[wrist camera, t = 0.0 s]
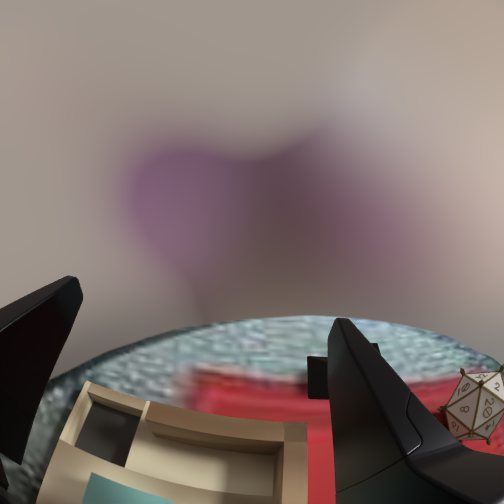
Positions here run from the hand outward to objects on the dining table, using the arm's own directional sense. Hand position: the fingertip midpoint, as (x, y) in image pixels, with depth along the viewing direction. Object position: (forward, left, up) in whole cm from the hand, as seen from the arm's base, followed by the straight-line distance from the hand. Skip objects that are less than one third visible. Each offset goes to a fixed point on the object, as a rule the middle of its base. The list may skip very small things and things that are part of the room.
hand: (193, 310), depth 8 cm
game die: (+2, -25, -17) cm, 30 cm away
